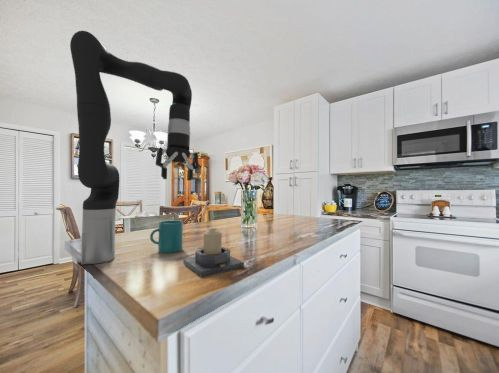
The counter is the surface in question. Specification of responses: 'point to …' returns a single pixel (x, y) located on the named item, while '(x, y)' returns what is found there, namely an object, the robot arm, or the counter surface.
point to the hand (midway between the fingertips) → (177, 179)
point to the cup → (169, 236)
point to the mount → (212, 262)
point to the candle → (212, 241)
